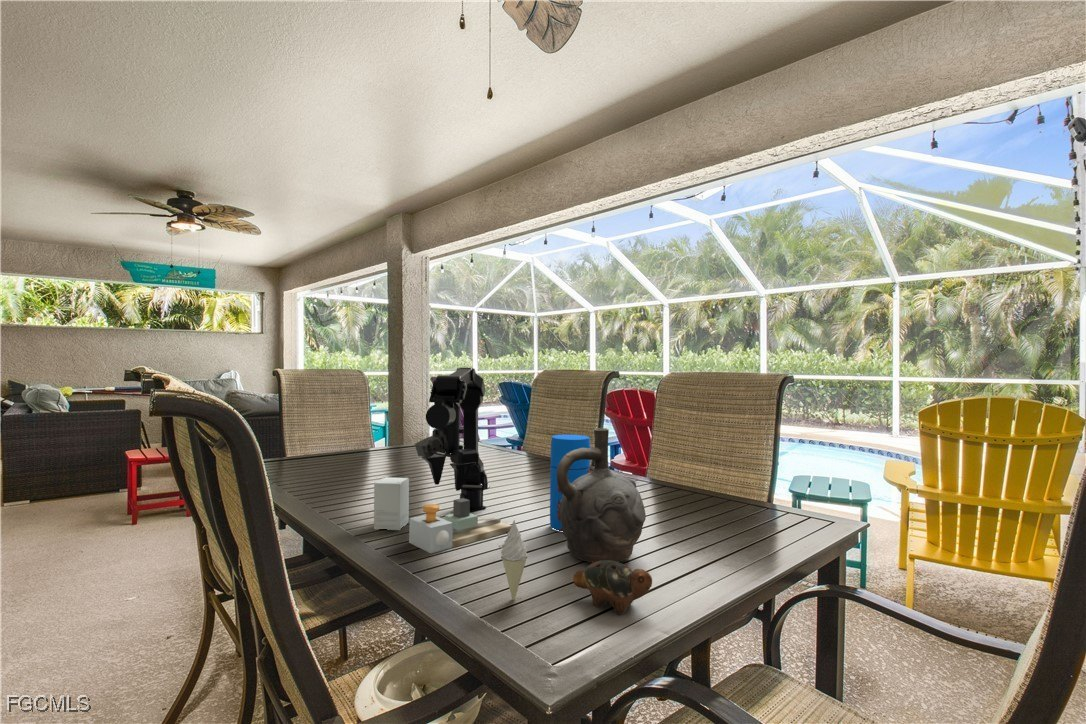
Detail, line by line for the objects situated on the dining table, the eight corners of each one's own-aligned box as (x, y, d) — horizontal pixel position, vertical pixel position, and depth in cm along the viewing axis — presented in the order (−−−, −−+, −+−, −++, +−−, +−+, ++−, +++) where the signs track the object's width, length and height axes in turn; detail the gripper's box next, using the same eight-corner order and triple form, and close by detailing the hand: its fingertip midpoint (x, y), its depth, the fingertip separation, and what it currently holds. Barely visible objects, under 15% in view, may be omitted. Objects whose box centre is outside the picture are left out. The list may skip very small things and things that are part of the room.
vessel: (616, 588, 103) (618, 438, 103) (529, 563, 115) (531, 429, 116) (663, 553, 123) (664, 428, 123) (584, 535, 135) (586, 421, 136)
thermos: (543, 530, 139) (545, 438, 139) (557, 519, 148) (559, 433, 149) (582, 536, 134) (583, 440, 135) (593, 524, 144) (595, 436, 145)
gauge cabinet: (430, 537, 132) (430, 513, 132) (452, 547, 124) (453, 523, 124) (409, 542, 127) (409, 518, 127) (431, 553, 120) (431, 528, 120)
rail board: (488, 522, 145) (489, 513, 145) (511, 531, 138) (512, 521, 138) (430, 537, 132) (430, 526, 132) (452, 547, 124) (452, 536, 124)
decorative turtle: (646, 626, 88) (647, 579, 88) (564, 608, 94) (564, 564, 94) (657, 602, 97) (657, 560, 97) (581, 587, 103) (581, 547, 103)
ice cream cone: (500, 593, 99) (501, 516, 100) (526, 593, 100) (527, 516, 100) (500, 605, 94) (501, 524, 95) (527, 605, 95) (528, 523, 95)
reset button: (433, 519, 129) (433, 503, 129) (442, 522, 126) (442, 506, 126) (419, 522, 126) (419, 506, 126) (428, 526, 123) (428, 509, 123)
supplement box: (409, 522, 144) (410, 477, 144) (399, 531, 136) (400, 483, 136) (383, 521, 144) (384, 476, 144) (372, 529, 137) (373, 482, 137)
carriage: (464, 520, 136) (464, 496, 137) (477, 525, 132) (478, 500, 132) (444, 525, 132) (445, 499, 132) (458, 530, 128) (458, 504, 128)
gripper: (400, 424, 130) (399, 485, 130) (442, 430, 117) (440, 499, 116) (438, 421, 138) (436, 480, 138) (481, 427, 125) (479, 492, 124)
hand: (447, 487), depth 129 cm, fingers open, 9 cm apart
